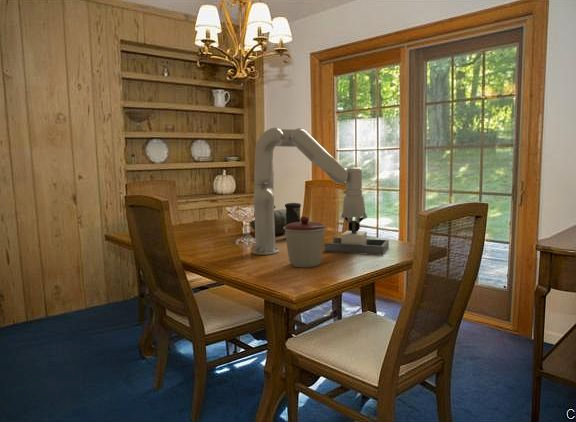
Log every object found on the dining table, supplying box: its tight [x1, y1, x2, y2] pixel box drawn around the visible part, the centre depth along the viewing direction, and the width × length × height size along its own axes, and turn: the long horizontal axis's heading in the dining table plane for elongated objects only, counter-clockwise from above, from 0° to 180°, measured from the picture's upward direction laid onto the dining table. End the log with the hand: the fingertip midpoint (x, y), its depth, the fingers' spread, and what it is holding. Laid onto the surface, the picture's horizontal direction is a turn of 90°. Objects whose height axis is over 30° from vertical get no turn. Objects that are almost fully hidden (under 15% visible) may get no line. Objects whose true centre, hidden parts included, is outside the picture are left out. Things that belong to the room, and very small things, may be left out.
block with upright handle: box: [340, 220, 368, 245], centre depth 218 cm, size 11×10×13 cm
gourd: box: [249, 205, 286, 236], centre depth 266 cm, size 25×25×17 cm
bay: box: [324, 236, 390, 256], centre depth 218 cm, size 16×28×4 cm, turn 68°
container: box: [284, 202, 302, 225], centre depth 250 cm, size 9×9×20 cm
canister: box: [283, 215, 327, 269], centre depth 189 cm, size 18×18×21 cm
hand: (354, 230), depth 217 cm, fingers closed on block with upright handle, 2 cm apart
